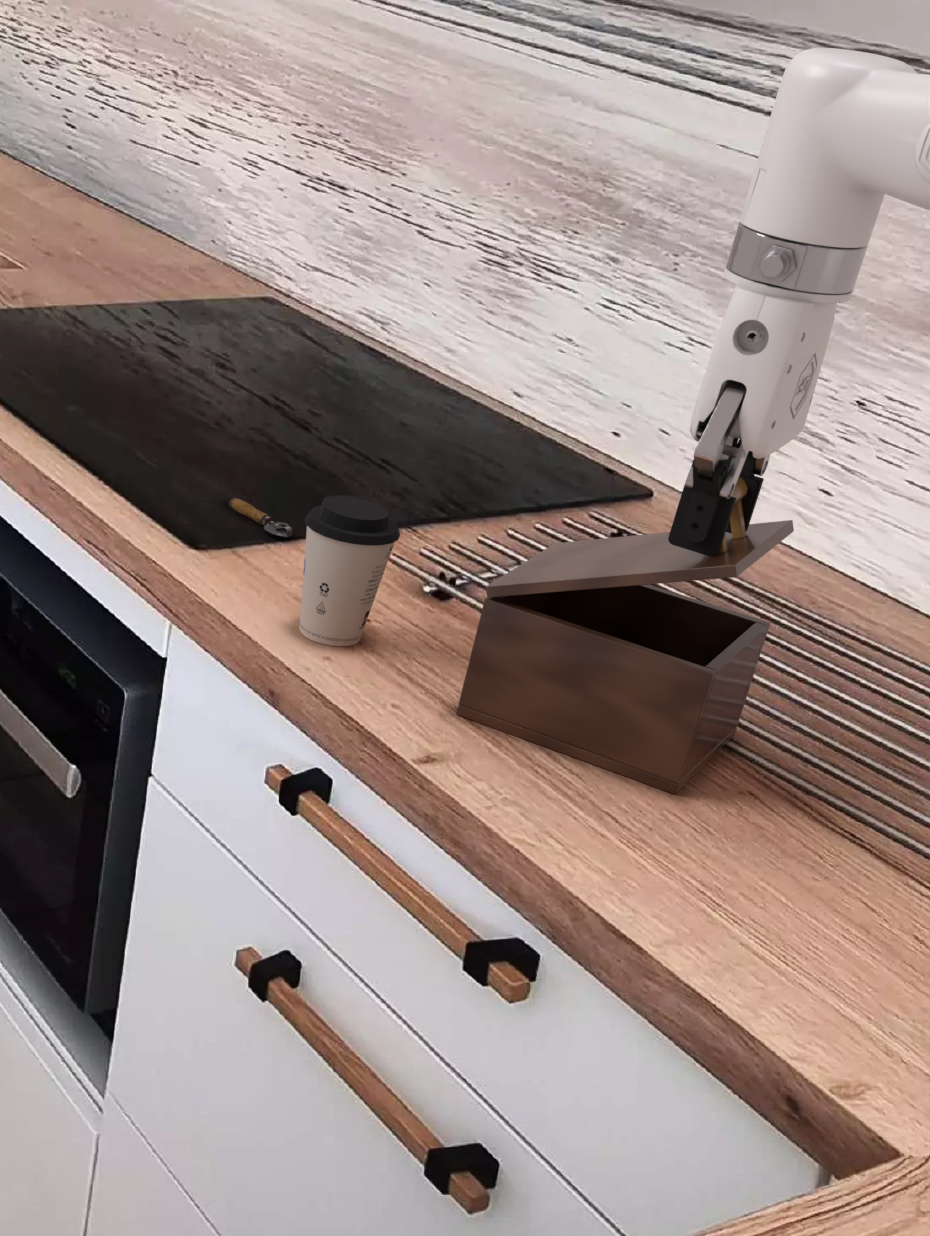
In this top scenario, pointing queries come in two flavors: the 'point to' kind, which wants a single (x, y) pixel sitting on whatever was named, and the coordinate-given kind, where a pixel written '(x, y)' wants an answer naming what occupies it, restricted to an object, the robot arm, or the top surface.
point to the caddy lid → (641, 559)
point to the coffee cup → (343, 567)
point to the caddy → (615, 677)
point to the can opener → (260, 518)
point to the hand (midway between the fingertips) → (707, 536)
